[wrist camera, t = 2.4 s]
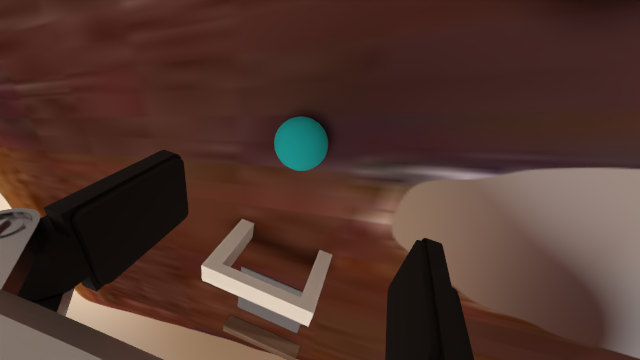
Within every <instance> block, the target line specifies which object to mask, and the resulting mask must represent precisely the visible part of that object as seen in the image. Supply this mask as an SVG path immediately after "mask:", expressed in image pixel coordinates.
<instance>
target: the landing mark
mask: <svg viewBox="0 0 640 360" xmlns="http://www.w3.org/2000/svg"><path fill="white" fill-rule="evenodd" d="M241 272H242V273H245V274H247V275H249V276H252V277H254V278H256V279H259V280H261V281H263V282H266V283H268V284H270V285H273V286H275V287H277V288H280V289H282V290H284V291H287V292H289V293H291V294H294V295H296V296H299V297H301V296H302V294H303V292H302V291H300V290H298V289H295V288H293V287H291V286H288V285H286V284H284V283H281V282H279V281H276V280H274V279H272V278H269V277H267V276H265V275H262V274H260V273H258V272H255V271H253V270H250V269H248V268H246V267H243V266H242V267H241ZM238 307H239V308H241V309H244V310H246V311H248V312H250V313H253V314H255V315H257V316H259V317H262V318H264V319H266V320H268V321H271V322H273V323H275V324H277V325H280V326H282V327H284V328H286V329H289V330H291V331H293V332H295V333H297V332H298V329H299V327H300V324H301V323H299V322H297V321H294V320H292V319H290V318H288V317H285V316H283V315H281V314H278V313H276V312H274V311H272V310H269V309H267V308H265V307H262V306H260V305H258V304H256V303H253V302H251V301H249V300H246V299H244V298H242V297H240V296H239V297H238Z"/></svg>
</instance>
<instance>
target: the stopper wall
mask: <svg viewBox="0 0 640 360" xmlns="http://www.w3.org/2000/svg"><path fill="white" fill-rule="evenodd" d="M223 331H225V332H228V333H230V334H232V335H234V336H236V337H239V338H241V339H243V340H245V341H247V342H249V343H252V344H254V345H256V346H258V347H260V348H263V349H265V350H267V351H269V352H271V353H273V354H276V355H278V356H280V357H282V358H284V359H287V360H295V359H296V357H297V354H298V351H299V348H300V345H297V344H295V343H293V342H291V341H289V340H286V339H284V338H282V337H280V336H277V335H275V334H273V333H271V332H268V331H266V330H264V329H262V328H260V327H257V326H255V325H253V324H251V323H248V322H246V321H244V320H242V319H240V318H237V317H235V316H233V315H230V316H229V318H228V320H227V321H226V323H225V324H224V329H223Z"/></svg>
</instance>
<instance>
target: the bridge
mask: <svg viewBox="0 0 640 360" xmlns="http://www.w3.org/2000/svg"><path fill="white" fill-rule="evenodd" d="M253 229H254V223H252V222H249V221H247V220H244V219H242V220H241V221H240V222H239V223H238V224H237V225H236V226H235V228H234V229H233V230H232V231H231V232H230V233H229V234H228V236H227V237H226V238H225V239H224V240H223V241H222V242H221V244H220V245H219V246H218V247H217V248H216V249H215V250H214V252H213V253H212V254H211V255H210V256H209V257H208V258H207V260H206V261H205V262H204V263H203V264H202V265H201V267H202V280H203V281H205V282H208V283H210V284H212V285H214V286H217V287H219V288H221V289H224V290H226V291H228V292H230V293H233V294H235V295H237V296H240V297H242V298H244V299H246V300H249V301H251V302H253V303H256V304H258V305H260V306H262V307H265V308H267V309H269V310H272V311H274V312H276V313H278V314H281V315H283V316H285V317H288V318H290V319H292V320H294V321H297V322H299V323H301V324H303V325H306V326H309V323H310V321H311V319H312V316H313V314H314V311H315V308H316V305H317V302H318V298H319V295H320V292H321V289H322V286H323V283H324V280H325V277H326V273H327V270H328V267H329V264H330V261H331V258H332V254H329V253H327V252H324V251H322V250H319V252H318V255H317V257H316V260H315V263H314V265H313V268H312V270H311V273H310V275H309V278H308V281H307V283H306V286H305V288H304V291H303V294H302V296H301V297H299V296H296V295H294V294H291V293H289V292H287V291H284V290H282V289H280V288H277V287H275V286H273V285H270V284H268V283H266V282H263V281H261V280H259V279H256V278H254V277H252V276H249V275H247V274H245V273H242V272H240V271H237V270H235V269H233V268H230V267H231V265H232V264H233V263H234V261H235V260H236V259H237V257H238V256H239V255H240V253H241V252H242V251H243V249H244V248H245V247H246V245H247V244H248V243H249V241H250V240H251V239H252V237H253Z"/></svg>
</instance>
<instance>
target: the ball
mask: <svg viewBox="0 0 640 360" xmlns="http://www.w3.org/2000/svg"><path fill="white" fill-rule="evenodd" d="M274 146H275V151H276V154H277V156H278V158H279V159H280V161H281V162H282V163H283V164H284V165H286V166H287V167H289V168H291V169H294V170H298V171H306V170H310V169H312V168H314V167H316V166H317V165H319V164H320V163H321V162H322V161H323V159H324V158H325V156H326V153H327V150H328V138H327V134H326V132H325V130H324V129H323V127H322V126H321V125H320V124H319V123H318V122H317V121H315V120H313V119H311V118H308V117H294V118H291V119H289V120H287V121H286V122H284V123H283V124H282V125H281V126H280V127H279V129H278V131H277V133H276V136H275V141H274Z"/></svg>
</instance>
